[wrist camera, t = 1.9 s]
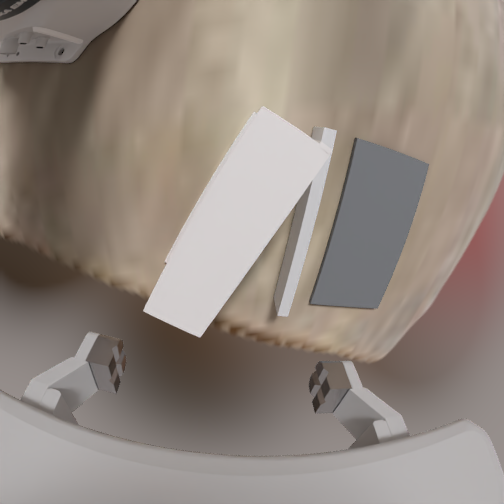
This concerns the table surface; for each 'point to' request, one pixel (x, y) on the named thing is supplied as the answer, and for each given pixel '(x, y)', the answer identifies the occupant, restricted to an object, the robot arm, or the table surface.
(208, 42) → the table surface
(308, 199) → the low wall
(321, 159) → the white boxy piece
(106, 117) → the table surface
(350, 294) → the mat
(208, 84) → the table surface
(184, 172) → the table surface
